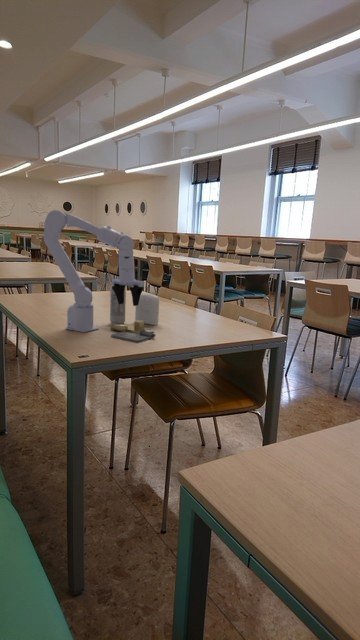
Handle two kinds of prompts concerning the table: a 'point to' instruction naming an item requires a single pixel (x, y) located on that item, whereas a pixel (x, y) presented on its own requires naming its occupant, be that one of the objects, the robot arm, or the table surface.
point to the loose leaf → (130, 327)
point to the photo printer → (147, 309)
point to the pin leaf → (135, 336)
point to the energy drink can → (117, 309)
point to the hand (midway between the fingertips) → (128, 304)
